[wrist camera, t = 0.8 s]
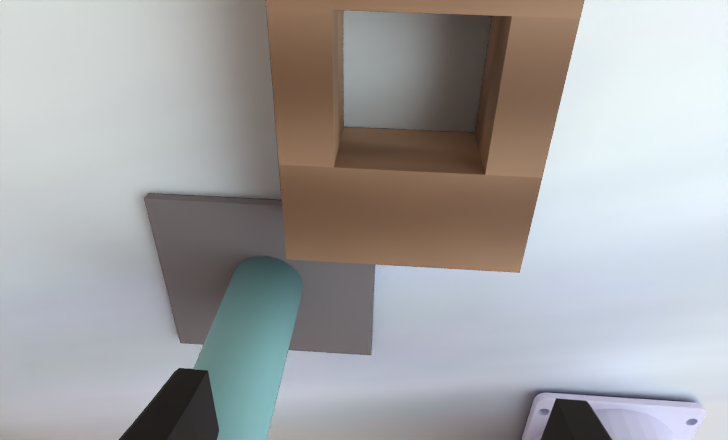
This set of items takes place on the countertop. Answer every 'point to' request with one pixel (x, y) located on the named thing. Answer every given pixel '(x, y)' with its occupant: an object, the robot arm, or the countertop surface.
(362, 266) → the mat
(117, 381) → the countertop surface
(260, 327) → the peg
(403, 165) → the hole block
